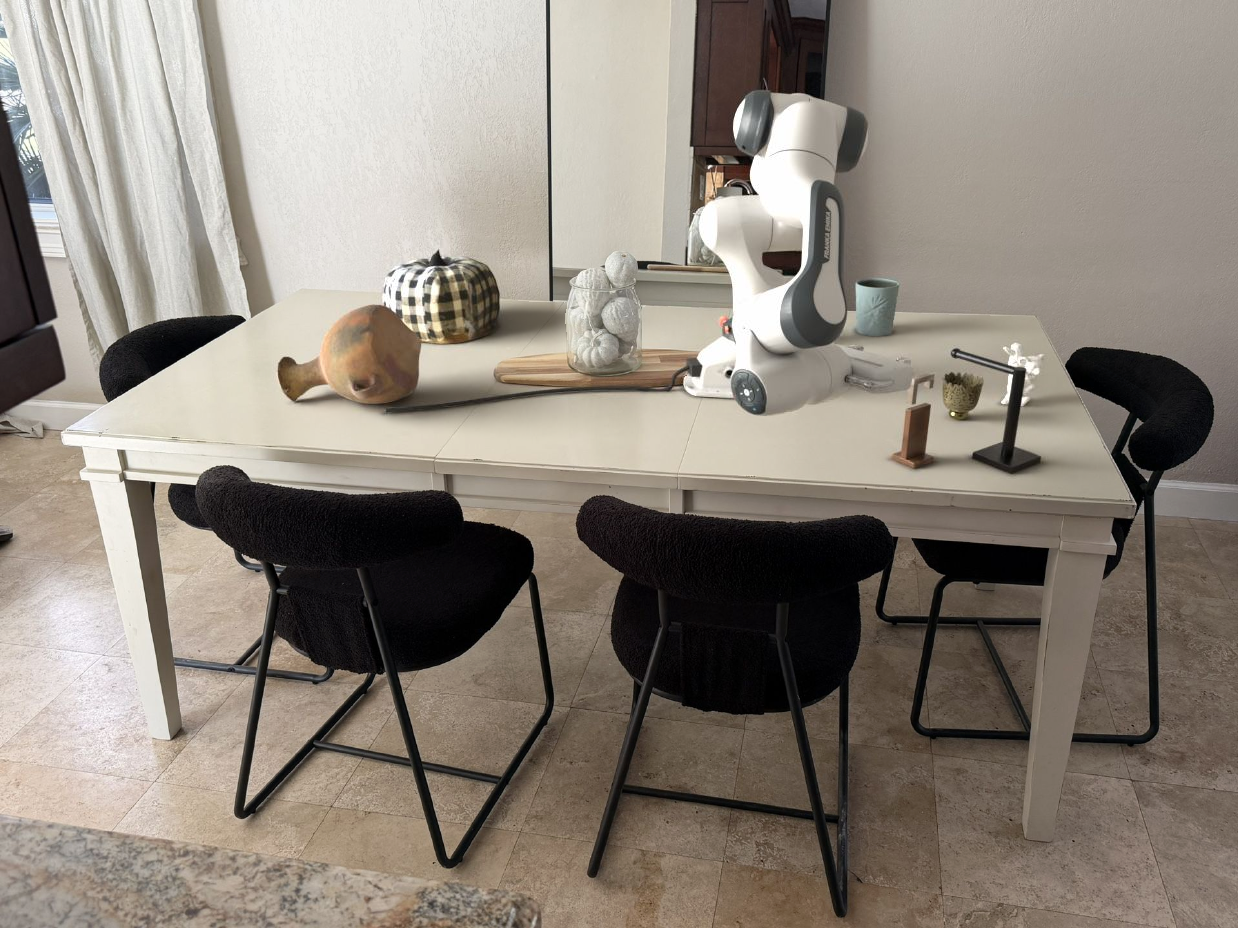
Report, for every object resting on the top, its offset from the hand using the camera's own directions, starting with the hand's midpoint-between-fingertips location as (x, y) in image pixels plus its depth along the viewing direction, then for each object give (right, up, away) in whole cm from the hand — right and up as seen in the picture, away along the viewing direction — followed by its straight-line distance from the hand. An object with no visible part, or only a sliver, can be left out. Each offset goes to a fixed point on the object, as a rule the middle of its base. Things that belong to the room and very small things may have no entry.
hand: (883, 356), depth 161 cm
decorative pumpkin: (-86, +17, +93) cm, 127 cm away
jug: (-96, -4, +46) cm, 107 cm away
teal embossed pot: (+20, +15, +85) cm, 89 cm away
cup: (+23, -8, +32) cm, 41 cm away
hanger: (+9, -17, +14) cm, 23 cm away
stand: (+22, -15, +17) cm, 32 cm away
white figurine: (+37, -5, +40) cm, 54 cm away
